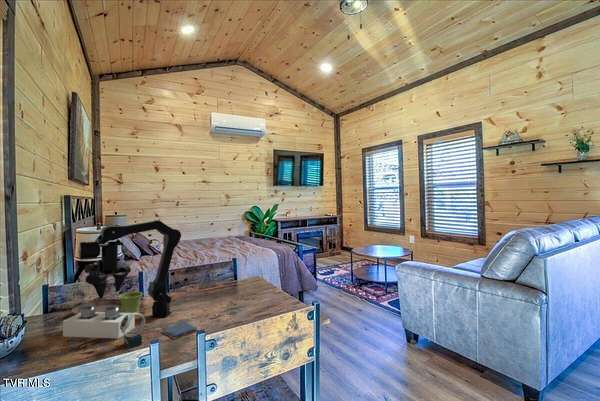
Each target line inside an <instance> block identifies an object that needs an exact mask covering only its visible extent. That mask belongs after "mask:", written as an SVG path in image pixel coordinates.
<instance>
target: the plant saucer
mask: <svg viewBox="0 0 600 401" xmlns="http://www.w3.org/2000/svg"><path fill="white" fill-rule="evenodd" d="M89 304H95V312H105V308H106V307H107V306H111V305H119V306H120V307H119V310H120V309H122V302H121V299H119V298H109V299H107V298H106V299H97V300H93V301H89V302H84V303H80V304H79V305H76V306H75V307H72V309H71V313H72V314H73V316H74V315H77V314H79V313H81V307H82V306H84V305H89Z"/></svg>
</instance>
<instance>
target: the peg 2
mask: <svg viewBox="0 0 600 401" xmlns="http://www.w3.org/2000/svg"><path fill="white" fill-rule="evenodd" d="M119 307H120V306H119V305H111V306H107V307H106V308H105V320H115V319H117V318H119V313H120V309H119Z"/></svg>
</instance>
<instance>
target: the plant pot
mask: <svg viewBox="0 0 600 401" xmlns="http://www.w3.org/2000/svg"><path fill="white" fill-rule="evenodd" d="M142 296H143V292H141V291H131V292H126V293H122V294H120V295H119V296H118V299H119V298H120V300H121V302H122V307H121V309H122V313H139V311H140V305H141V299H142Z"/></svg>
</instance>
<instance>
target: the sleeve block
mask: <svg viewBox="0 0 600 401" xmlns="http://www.w3.org/2000/svg"><path fill="white" fill-rule="evenodd" d="M129 314H131V313H123V312H119V318H117V319H115V320H105V312H95V317H93V318H91V319H81V313H79V314H77V315H74V314H73V315H72V316H71V317H69V318H65V319H64V320H62V337H66V338H88V339H89V338H91V339H92V338H93V339H95V338H96V339H116V340H117V339H120V338H122V337H124V334H123V333H122V332H121V329H120V324H121V322H122V320H123V318H124V317H125V316H126V315H129ZM135 316H136V315H134V316H133V318H132V319H131V323H130V325H129V327H128V328H127V329H126V330H125V332H124V333H125V334H128V333H129V332H131V331H132V330H133V329H135V328H136V326H135V323H136V322H135V320H136V319H135Z"/></svg>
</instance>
